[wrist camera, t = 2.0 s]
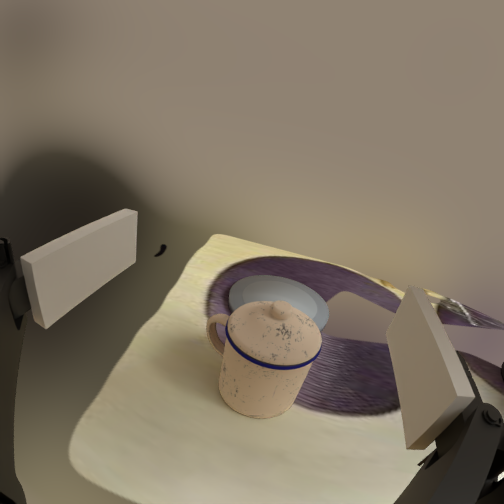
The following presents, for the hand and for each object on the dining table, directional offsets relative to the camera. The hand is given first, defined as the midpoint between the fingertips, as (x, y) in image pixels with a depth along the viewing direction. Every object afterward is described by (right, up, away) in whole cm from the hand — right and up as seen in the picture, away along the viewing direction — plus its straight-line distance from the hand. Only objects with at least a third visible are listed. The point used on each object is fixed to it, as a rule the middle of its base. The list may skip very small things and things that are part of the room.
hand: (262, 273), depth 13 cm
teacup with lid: (-1, -14, +17) cm, 22 cm away
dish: (+4, -8, +33) cm, 34 cm away
